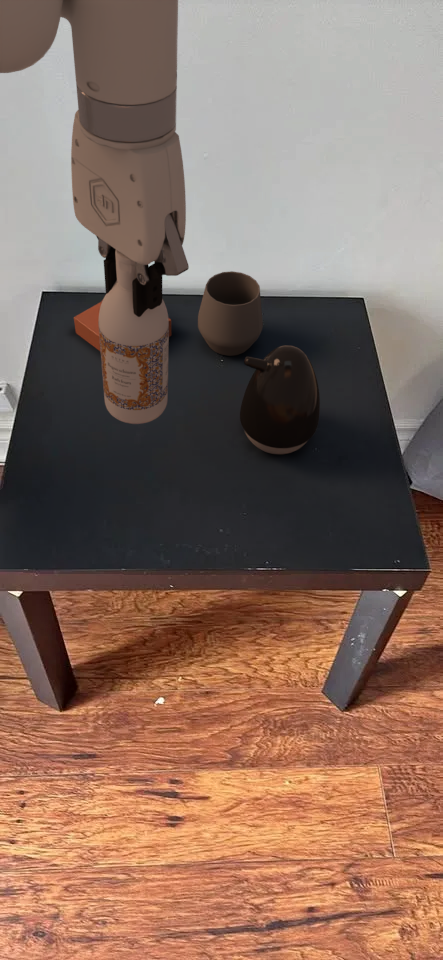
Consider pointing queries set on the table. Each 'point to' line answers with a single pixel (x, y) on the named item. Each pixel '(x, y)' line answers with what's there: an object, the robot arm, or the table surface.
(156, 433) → the table surface
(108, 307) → the bath foam
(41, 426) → the table surface
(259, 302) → the cup
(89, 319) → the button housing
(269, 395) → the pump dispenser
